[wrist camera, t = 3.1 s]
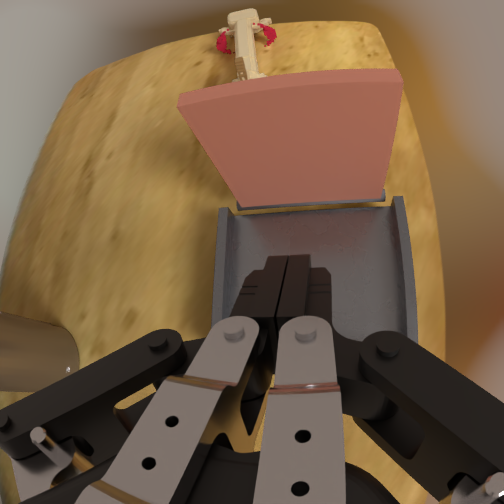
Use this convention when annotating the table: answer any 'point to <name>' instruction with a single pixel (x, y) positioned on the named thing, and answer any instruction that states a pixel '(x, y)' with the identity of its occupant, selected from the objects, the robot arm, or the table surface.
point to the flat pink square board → (299, 135)
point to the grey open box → (328, 262)
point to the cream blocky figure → (245, 41)
